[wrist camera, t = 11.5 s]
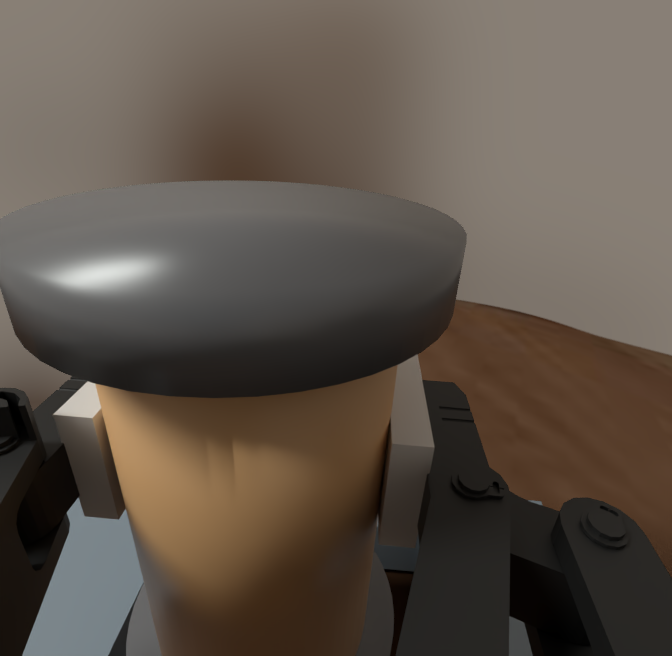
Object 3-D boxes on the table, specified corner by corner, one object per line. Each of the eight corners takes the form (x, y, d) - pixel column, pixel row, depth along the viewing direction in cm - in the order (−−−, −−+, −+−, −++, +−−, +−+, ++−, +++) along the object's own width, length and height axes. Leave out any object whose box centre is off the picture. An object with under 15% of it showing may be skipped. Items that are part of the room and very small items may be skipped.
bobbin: (385, 531, 16) (434, 191, 10) (395, 818, 9) (536, 321, 4) (191, 512, 16) (141, 174, 11) (73, 778, 10) (-199, 267, 4)
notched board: (527, 540, 20) (540, 501, 19) (679, 967, 10) (729, 940, 9) (98, 502, 21) (87, 463, 20) (-147, 857, 11) (-199, 819, 10)
